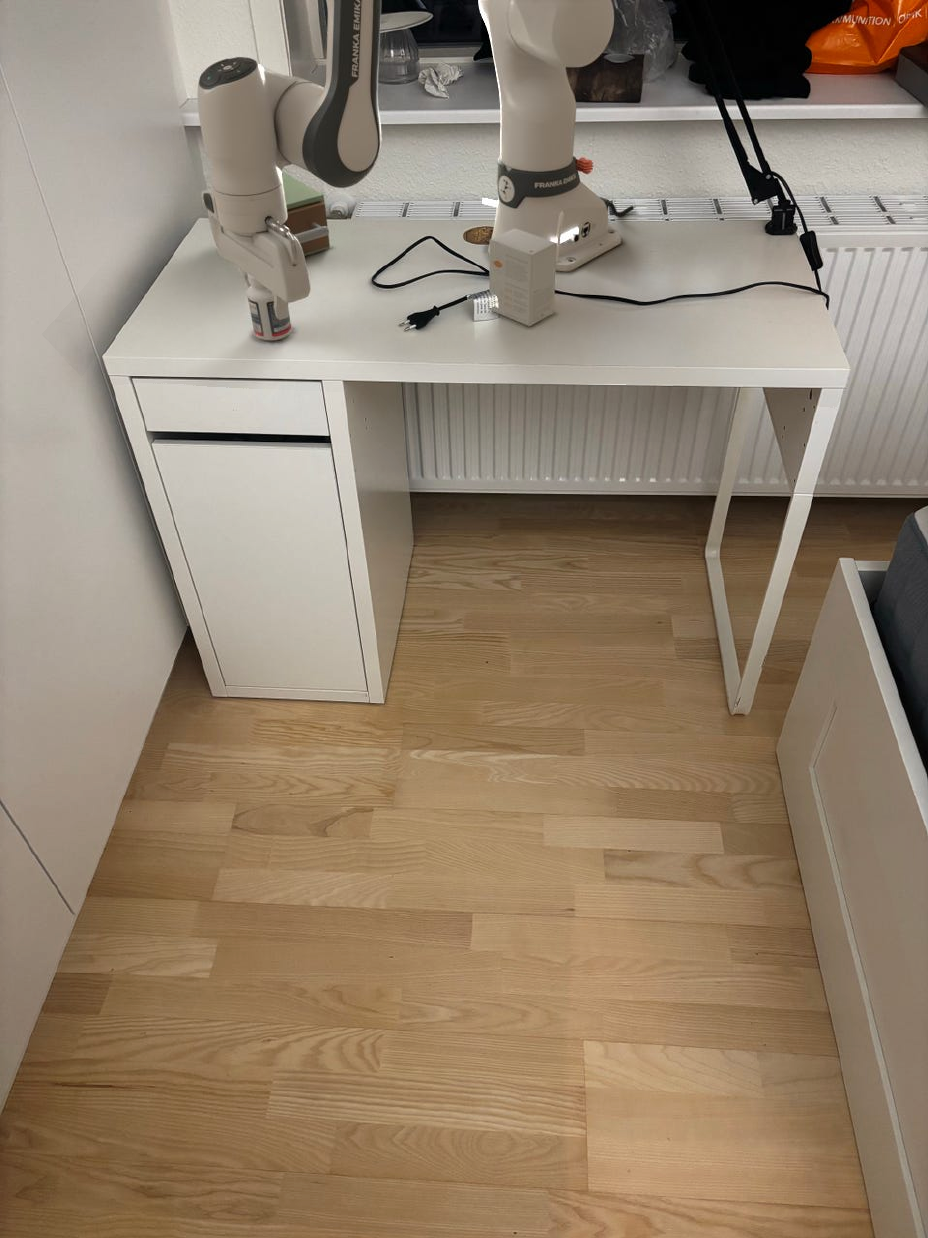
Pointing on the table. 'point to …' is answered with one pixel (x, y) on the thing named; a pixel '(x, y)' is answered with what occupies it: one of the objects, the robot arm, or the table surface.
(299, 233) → the drawer
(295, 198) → the cabinet
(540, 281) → the small box
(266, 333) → the pill bottle
